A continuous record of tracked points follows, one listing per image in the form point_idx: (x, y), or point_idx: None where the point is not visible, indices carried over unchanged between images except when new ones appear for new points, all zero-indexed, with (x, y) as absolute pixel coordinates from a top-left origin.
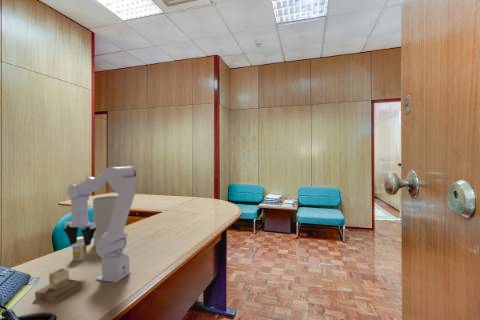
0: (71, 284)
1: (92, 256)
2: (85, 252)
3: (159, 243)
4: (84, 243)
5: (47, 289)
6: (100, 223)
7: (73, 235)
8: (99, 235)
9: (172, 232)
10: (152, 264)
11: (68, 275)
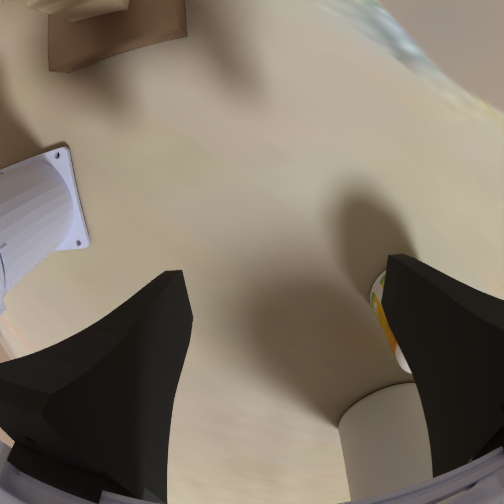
0: (63, 30)
1: (351, 325)
2: (379, 321)
3: (172, 444)
4: (167, 280)
5: None
6: (413, 484)
7: (431, 345)
8: (404, 429)
9: (215, 484)
10: (28, 323)
11: (44, 11)
